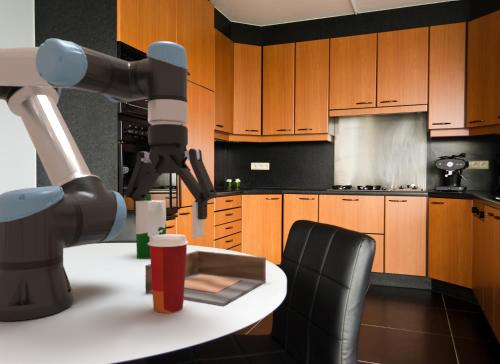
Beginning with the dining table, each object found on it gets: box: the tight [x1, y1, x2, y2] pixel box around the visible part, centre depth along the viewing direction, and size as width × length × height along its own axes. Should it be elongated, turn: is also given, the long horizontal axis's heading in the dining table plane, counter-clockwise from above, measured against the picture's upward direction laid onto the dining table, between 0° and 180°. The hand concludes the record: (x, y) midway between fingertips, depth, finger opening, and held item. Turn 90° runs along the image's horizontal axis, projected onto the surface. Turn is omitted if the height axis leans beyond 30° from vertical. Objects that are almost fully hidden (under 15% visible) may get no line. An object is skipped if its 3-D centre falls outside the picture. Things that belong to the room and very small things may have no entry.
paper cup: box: [147, 233, 189, 314], centre depth 77 cm, size 8×8×14 cm
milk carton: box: [135, 193, 167, 259], centre depth 127 cm, size 9×9×20 cm
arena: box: [145, 250, 267, 307], centre depth 92 cm, size 20×20×6 cm
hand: (169, 235), depth 76 cm, fingers open, 13 cm apart
